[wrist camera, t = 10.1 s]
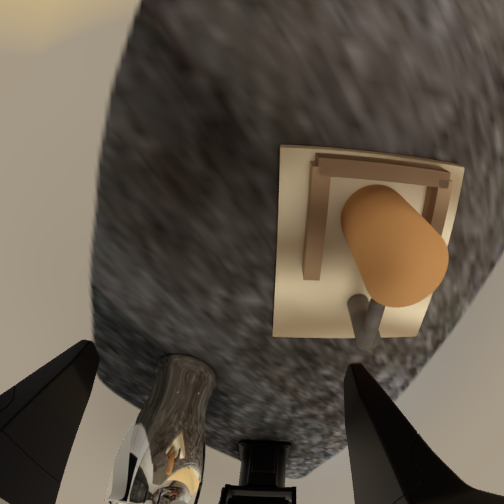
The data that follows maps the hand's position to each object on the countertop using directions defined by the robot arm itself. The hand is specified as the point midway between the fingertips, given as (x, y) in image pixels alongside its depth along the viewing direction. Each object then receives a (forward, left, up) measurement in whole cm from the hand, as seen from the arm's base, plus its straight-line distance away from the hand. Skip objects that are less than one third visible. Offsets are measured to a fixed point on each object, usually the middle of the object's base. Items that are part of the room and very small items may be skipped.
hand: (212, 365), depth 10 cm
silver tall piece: (-16, +6, -12) cm, 21 cm away
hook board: (-2, -8, -12) cm, 15 cm away
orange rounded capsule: (+1, -8, -11) cm, 14 cm away
